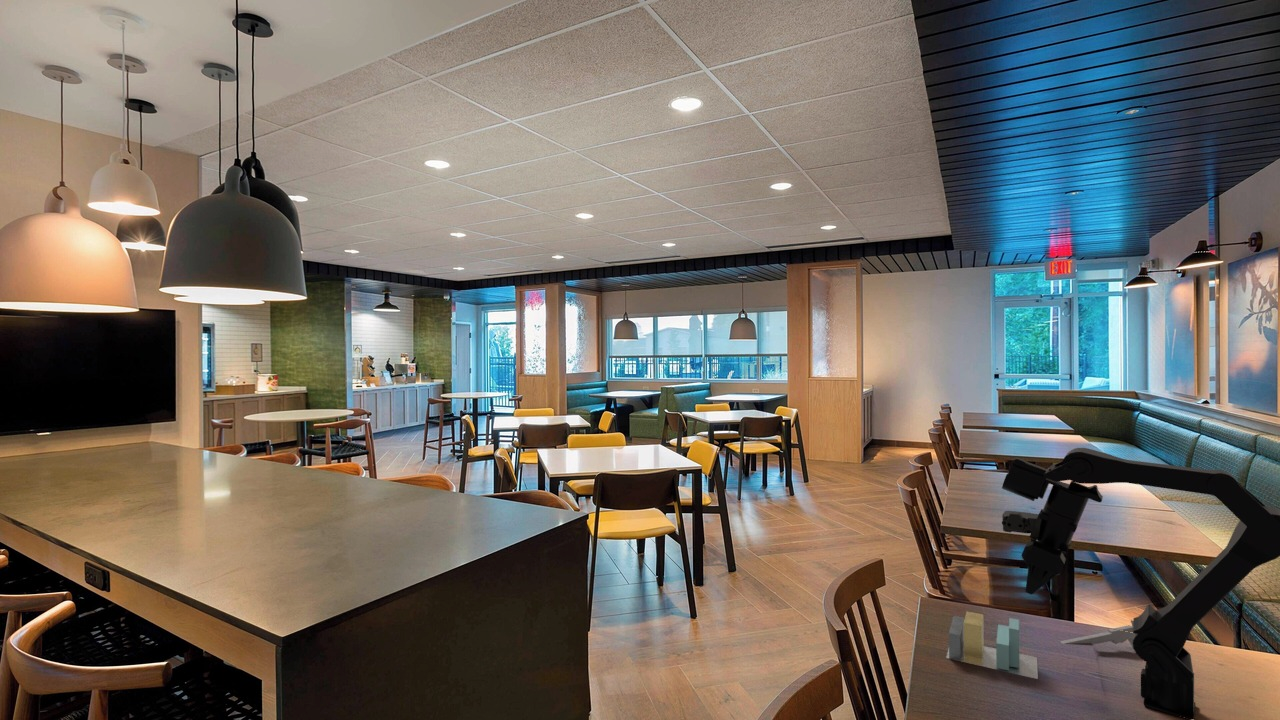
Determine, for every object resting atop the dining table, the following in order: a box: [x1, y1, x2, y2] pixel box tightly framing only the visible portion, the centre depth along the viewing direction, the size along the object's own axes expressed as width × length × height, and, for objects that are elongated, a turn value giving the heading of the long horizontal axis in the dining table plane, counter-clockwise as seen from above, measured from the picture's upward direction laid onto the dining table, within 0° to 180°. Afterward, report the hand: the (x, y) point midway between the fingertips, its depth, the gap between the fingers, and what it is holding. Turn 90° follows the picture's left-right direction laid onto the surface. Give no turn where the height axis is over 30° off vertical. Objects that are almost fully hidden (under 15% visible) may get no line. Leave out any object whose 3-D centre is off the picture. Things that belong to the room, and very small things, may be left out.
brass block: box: [964, 611, 985, 662], centre depth 120 cm, size 3×6×7 cm, turn 147°
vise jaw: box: [995, 617, 1020, 671], centre depth 117 cm, size 4×9×7 cm, turn 147°
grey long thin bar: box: [1060, 619, 1134, 649], centre depth 124 cm, size 20×1×6 cm, turn 90°
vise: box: [945, 615, 1039, 680], centre depth 119 cm, size 15×9×6 cm, turn 57°
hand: (1031, 585), depth 117 cm, fingers open, 9 cm apart
